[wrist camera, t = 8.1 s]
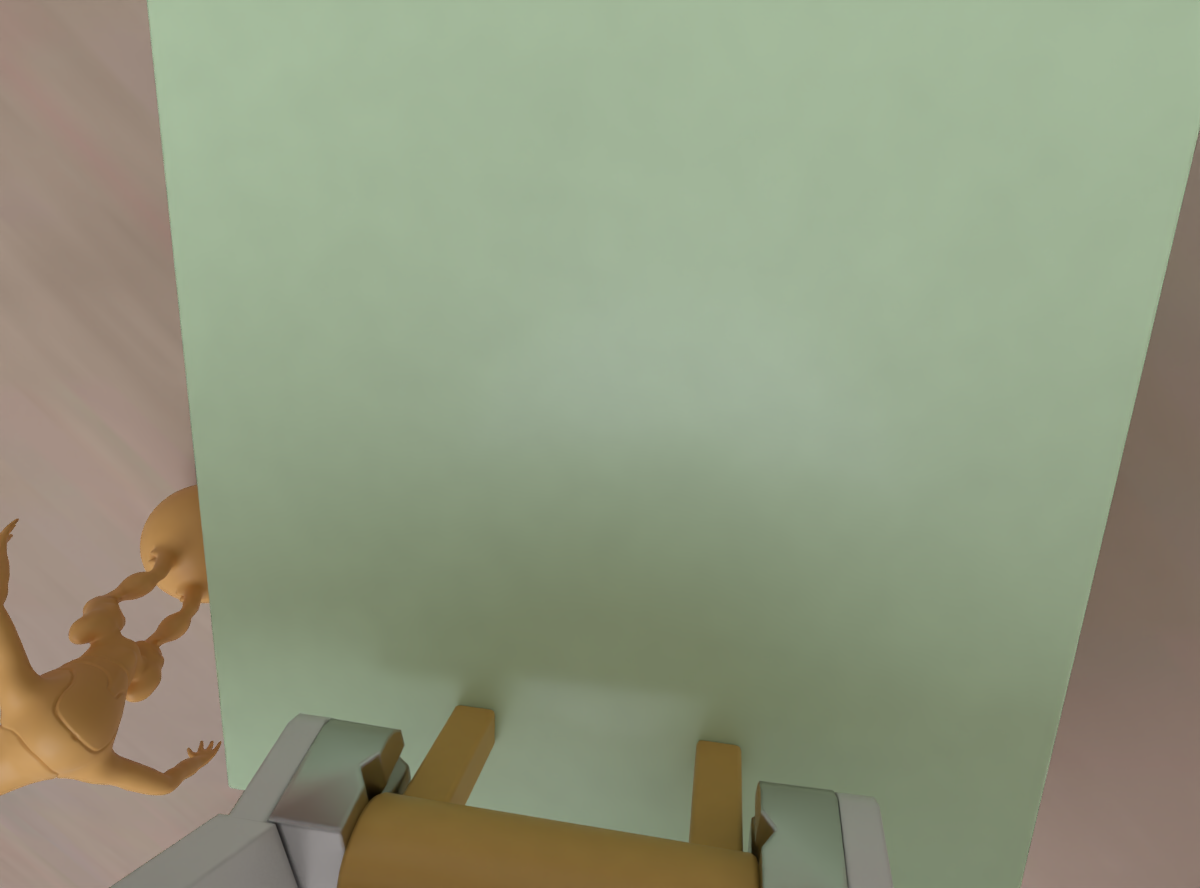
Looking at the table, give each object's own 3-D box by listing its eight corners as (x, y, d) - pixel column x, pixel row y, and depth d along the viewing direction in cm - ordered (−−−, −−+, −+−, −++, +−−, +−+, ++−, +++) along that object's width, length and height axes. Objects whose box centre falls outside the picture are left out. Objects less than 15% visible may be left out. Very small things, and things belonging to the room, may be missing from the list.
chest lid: (996, 883, 13) (1138, 1226, 8) (253, 761, 15) (48, 981, 10) (1296, -447, 8) (1992, -1299, 4) (149, -350, 10) (-305, -813, 6)
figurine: (131, 431, 26) (-280, 693, 16) (255, 372, 24) (-130, 630, 14) (273, 608, 29) (4, 926, 19) (394, 570, 27) (165, 906, 17)
